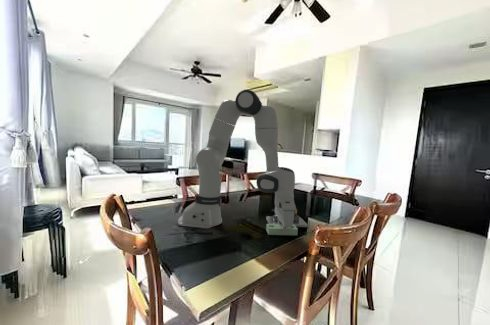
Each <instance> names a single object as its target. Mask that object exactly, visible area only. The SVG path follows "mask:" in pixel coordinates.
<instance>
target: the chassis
mask: <svg viewBox="0 0 490 325" xmlns="http://www.w3.org/2000/svg"><path fill="white" fill-rule="evenodd" d="M297 213H298V208H296V209H295V210H294V220H293V225H295V226H296V228H308V223H307V222H306V221H305V220H304V219H303V218H302V217H300V216H299V215H298V214H297ZM265 218H266V221H267V224H278V217H277V215H276V214H275V213H274V214H273V215H272V216H269V215H266V217H265Z"/></svg>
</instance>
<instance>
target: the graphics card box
mask: <svg viewBox="0 0 490 325" xmlns="http://www.w3.org/2000/svg"><path fill="white" fill-rule="evenodd" d="M270 213H272V214H273V213H274V214H275V192H271V202H270Z"/></svg>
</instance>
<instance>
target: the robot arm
mask: <svg viewBox="0 0 490 325" xmlns="http://www.w3.org/2000/svg"><path fill="white" fill-rule="evenodd" d="M240 117H245V118H246V117H248V118H253V120H254V134H255V140H256V143H257V145H258V146H259V147H260V148H261V149H262V150H263V153H264V156H265V164H266V171H265V172H264V173H261V174H259V176H258V177H257V179H256V182H255V183H256V187H257V189H258V190H259V191H260V192H262V193H264V194H265V193H266V194H267V193H271V194H272V192H275V213H274V214H276V215H277V217H278V224H283V227H282V232H283V233H286V229H287V227H292V225H293V220H294V214H295V209H297V207H296V203H295V199H294V197H295V195H294V190H295V187H296V186H295V185H296V175H295V171H294V170H293V169H291V168H288V167H284V166H279V159H278V158H279V155H278V139H279V138H278V137H279V123H278V117H277V112H276V109H275V107H273V106H270V105H263V103H262V102H261V100H260V97H259V96H258V94H257V93H255V92H254V90H252V89H242V90H241V91H239V92H238V93H237V95H236V97H235V100H232V99H224V100H223V101H222V102H221V104H220V105H219V107H218V109H217V111H216V113H215V116H214V118H213V121H212V123H211V126H210V130H209V132H208V140H207V145H206V147H203V148H202V149H201V150H199V151H198V153H196V157H195V162H196V165H197V170H198V178H199V182H198V184H199V185H198V186H199V187H198V193H195V194H194V201H193V202H192V203H191V204H189V205H188V206H186V207H185V209H184V211H183V213H182V215H181V216H180V217H179V218H178V220H177V225H178V226H181V227H191V228H198V229H199V228H200V229H210V228H212V227H215V226H218V225H220V224H222V223H223V219H222V214H221V206H222V195H221V190H222V178H221V168H220V167H221V166H222V165H223V163H224V162H225V158H226V155H227V152H228V148H229V144H230V141H231V138H232V135H233V132H234V130H235V127H236V125H237V122H238V120H239V118H240Z"/></svg>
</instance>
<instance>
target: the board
mask: <svg viewBox="0 0 490 325" xmlns="http://www.w3.org/2000/svg"><path fill="white" fill-rule="evenodd" d="M282 227H283V224H269V223H266V226H265V230H266V231H265V232H267V235H270V236H298V233H299V232H298V229H299V228H298V227H296V226H295V225H292V227H287V229H286V233H283V232H282Z"/></svg>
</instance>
